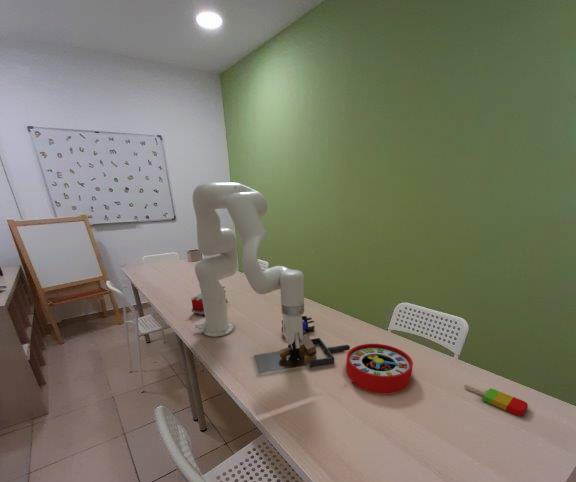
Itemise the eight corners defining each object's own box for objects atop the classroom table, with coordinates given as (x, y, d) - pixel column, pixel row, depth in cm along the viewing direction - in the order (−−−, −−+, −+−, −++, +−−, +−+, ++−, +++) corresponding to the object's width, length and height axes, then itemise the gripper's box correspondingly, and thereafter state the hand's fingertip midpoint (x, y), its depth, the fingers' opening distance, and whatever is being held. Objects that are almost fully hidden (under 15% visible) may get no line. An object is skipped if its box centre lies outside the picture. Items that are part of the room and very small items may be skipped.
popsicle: (521, 418, 77) (523, 412, 76) (460, 391, 88) (461, 386, 87) (527, 408, 80) (529, 402, 80) (467, 383, 91) (468, 378, 90)
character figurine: (317, 334, 125) (284, 342, 119) (308, 326, 131) (277, 334, 125) (318, 317, 121) (284, 325, 115) (309, 310, 127) (277, 317, 121)
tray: (259, 375, 98) (259, 373, 98) (254, 357, 109) (254, 355, 108) (306, 368, 101) (306, 365, 101) (296, 351, 112) (296, 348, 112)
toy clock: (352, 340, 106) (412, 348, 100) (351, 354, 109) (410, 363, 102) (341, 370, 89) (413, 382, 83) (340, 386, 91) (410, 399, 85)
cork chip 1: (298, 356, 106) (299, 350, 105) (294, 351, 110) (296, 345, 109) (308, 356, 107) (309, 350, 106) (304, 351, 111) (306, 345, 110)
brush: (284, 366, 101) (281, 359, 99) (279, 353, 109) (276, 346, 107) (317, 353, 102) (315, 345, 100) (309, 341, 110) (307, 334, 109)
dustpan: (310, 370, 100) (310, 361, 99) (298, 348, 114) (298, 340, 112) (358, 362, 104) (359, 353, 102) (341, 342, 117) (341, 334, 116)
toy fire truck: (230, 305, 158) (227, 287, 154) (203, 318, 143) (200, 298, 139) (217, 302, 162) (215, 284, 158) (190, 314, 148) (187, 295, 144)
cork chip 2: (303, 362, 103) (304, 355, 102) (303, 356, 107) (304, 350, 106) (315, 363, 103) (316, 357, 102) (315, 357, 106) (316, 351, 106)
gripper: (276, 301, 104) (278, 347, 112) (287, 318, 90) (288, 370, 98) (297, 299, 106) (298, 344, 113) (311, 315, 92) (310, 366, 99)
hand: (293, 356), depth 106 cm, fingers closed on brush, 2 cm apart
